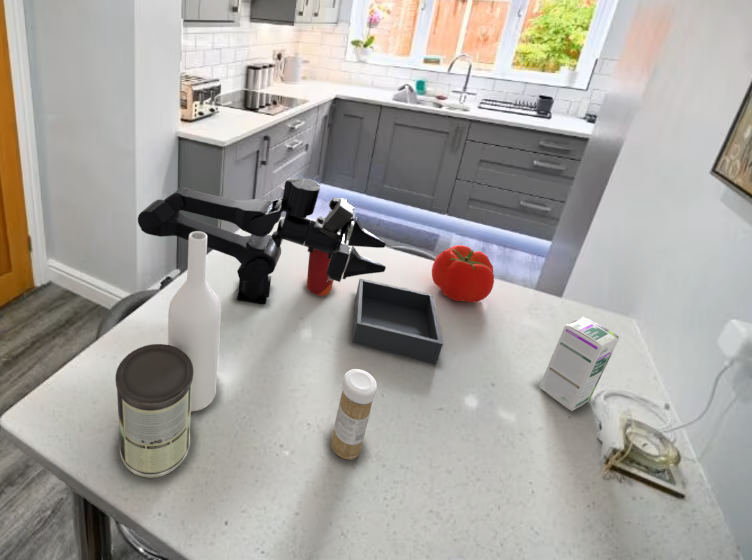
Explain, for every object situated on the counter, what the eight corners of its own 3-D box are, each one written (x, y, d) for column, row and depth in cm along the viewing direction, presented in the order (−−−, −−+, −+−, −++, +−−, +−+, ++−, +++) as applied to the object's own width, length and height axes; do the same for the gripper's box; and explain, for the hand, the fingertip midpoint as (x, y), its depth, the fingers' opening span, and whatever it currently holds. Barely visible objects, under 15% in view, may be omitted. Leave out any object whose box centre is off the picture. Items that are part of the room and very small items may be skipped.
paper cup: (338, 299, 98) (348, 246, 93) (304, 297, 98) (312, 244, 93) (331, 279, 106) (341, 228, 100) (300, 277, 105) (307, 226, 100)
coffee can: (105, 440, 64) (101, 368, 59) (163, 401, 71) (164, 332, 66) (144, 495, 57) (143, 419, 52) (204, 446, 64) (209, 374, 59)
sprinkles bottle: (349, 429, 68) (365, 364, 63) (366, 456, 65) (384, 389, 59) (324, 437, 67) (338, 371, 62) (340, 465, 63) (356, 397, 58)
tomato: (439, 269, 113) (450, 234, 109) (494, 294, 105) (508, 256, 101) (417, 290, 104) (428, 253, 100) (476, 319, 95) (490, 279, 91)
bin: (352, 343, 86) (356, 323, 84) (355, 296, 100) (359, 278, 98) (436, 364, 82) (443, 344, 80) (427, 312, 96) (433, 294, 94)
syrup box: (572, 412, 74) (604, 347, 69) (537, 386, 79) (565, 323, 74) (589, 401, 77) (622, 337, 71) (554, 376, 82) (583, 314, 76)
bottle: (205, 419, 68) (215, 256, 57) (158, 403, 70) (159, 242, 59) (222, 379, 76) (233, 228, 64) (179, 366, 78) (183, 217, 66)
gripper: (310, 218, 77) (400, 245, 74) (323, 180, 93) (397, 201, 90) (295, 269, 81) (379, 297, 78) (311, 224, 98) (380, 246, 95)
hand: (385, 256), depth 85 cm, fingers open, 9 cm apart
